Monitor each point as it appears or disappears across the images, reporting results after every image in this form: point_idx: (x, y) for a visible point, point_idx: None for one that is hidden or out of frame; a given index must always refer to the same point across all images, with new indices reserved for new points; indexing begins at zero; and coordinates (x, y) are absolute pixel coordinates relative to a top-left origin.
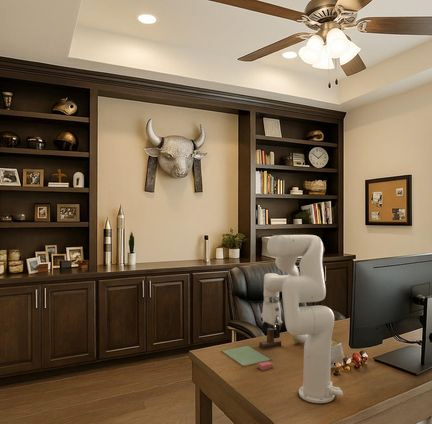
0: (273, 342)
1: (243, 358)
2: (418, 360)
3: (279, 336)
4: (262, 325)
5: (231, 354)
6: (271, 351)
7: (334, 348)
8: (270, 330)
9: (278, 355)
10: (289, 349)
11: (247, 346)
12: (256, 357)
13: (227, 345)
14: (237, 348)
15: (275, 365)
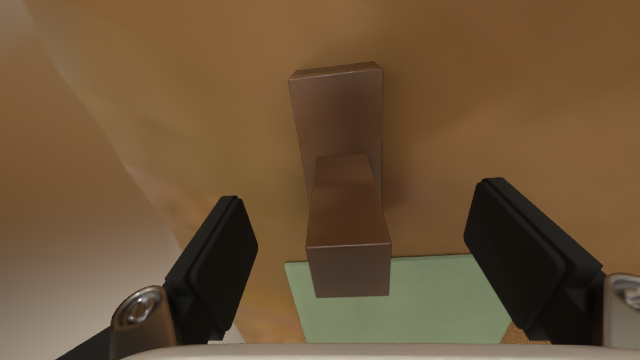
0: (380, 165)
1: (434, 327)
2: None
3: (503, 184)
4: (217, 328)
5: (365, 340)
6: (429, 190)
7: None
8: (386, 283)
9: (522, 184)
10: (496, 25)
11: (297, 271)
12: (464, 292)
13: (242, 315)
14: (307, 308)
15: (613, 259)
